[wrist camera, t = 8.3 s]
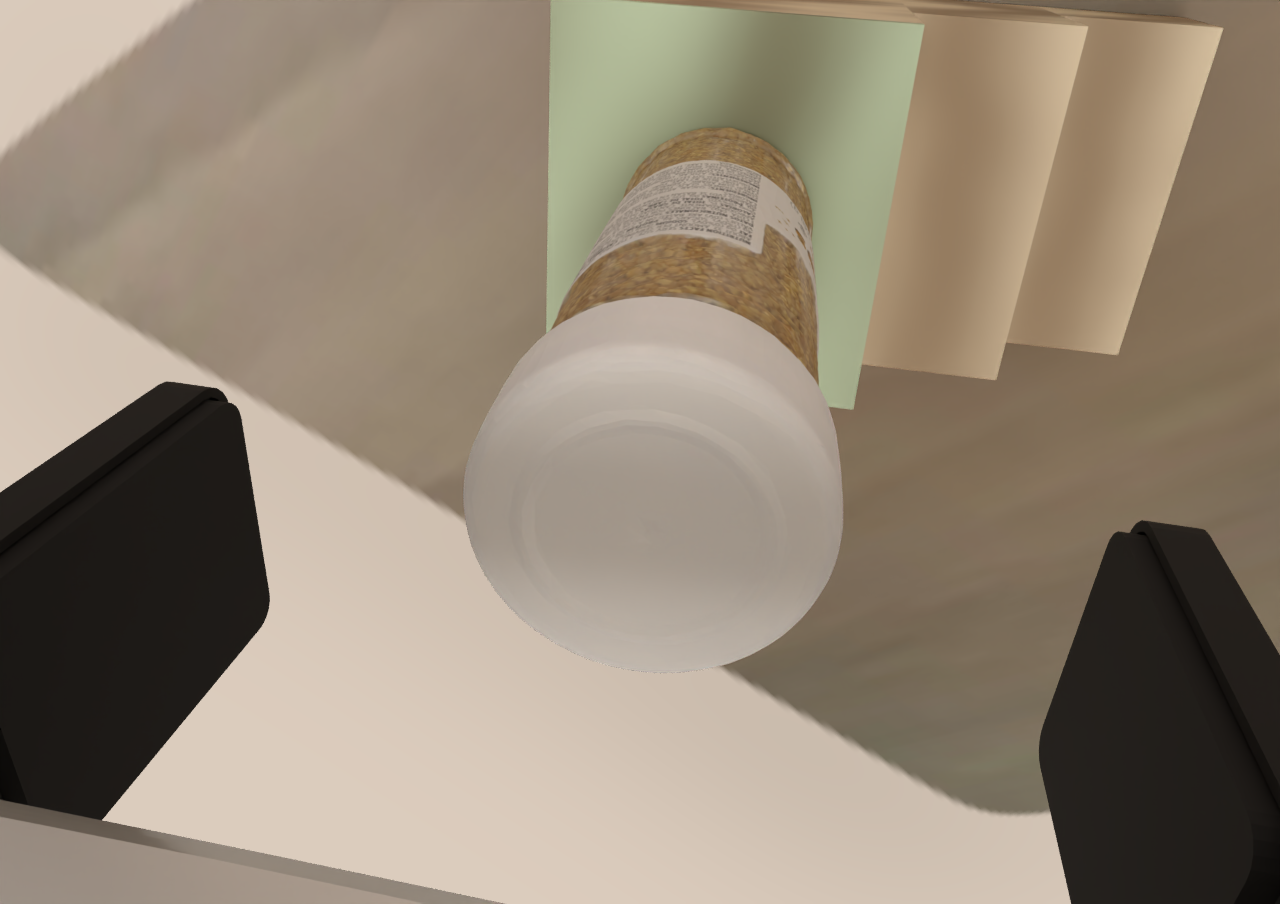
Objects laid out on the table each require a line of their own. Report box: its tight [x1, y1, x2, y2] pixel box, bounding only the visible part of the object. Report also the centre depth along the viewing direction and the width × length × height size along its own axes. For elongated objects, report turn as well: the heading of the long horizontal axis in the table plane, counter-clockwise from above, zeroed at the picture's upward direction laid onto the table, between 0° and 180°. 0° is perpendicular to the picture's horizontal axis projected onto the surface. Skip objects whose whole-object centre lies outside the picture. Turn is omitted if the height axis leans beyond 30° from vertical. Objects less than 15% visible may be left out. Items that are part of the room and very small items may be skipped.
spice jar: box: [463, 127, 843, 673], centre depth 17 cm, size 5×5×13 cm
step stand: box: [546, 0, 1223, 410], centre depth 27 cm, size 16×10×9 cm, turn 86°
